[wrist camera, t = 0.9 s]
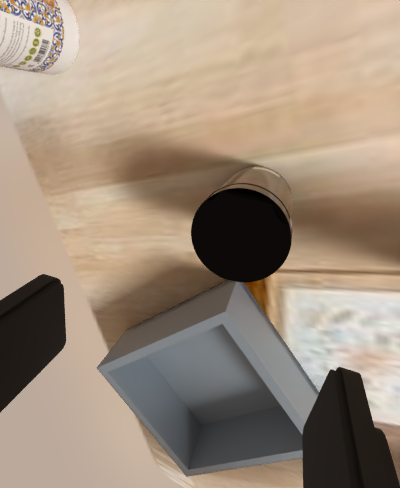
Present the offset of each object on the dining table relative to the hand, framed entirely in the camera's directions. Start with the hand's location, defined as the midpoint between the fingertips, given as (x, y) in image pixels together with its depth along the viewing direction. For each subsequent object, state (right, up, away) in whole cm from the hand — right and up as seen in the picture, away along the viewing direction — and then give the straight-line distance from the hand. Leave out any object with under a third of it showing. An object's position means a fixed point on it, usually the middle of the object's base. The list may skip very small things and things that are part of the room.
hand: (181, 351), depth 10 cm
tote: (+3, -11, +28) cm, 30 cm away
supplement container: (+6, +8, +19) cm, 22 cm away
